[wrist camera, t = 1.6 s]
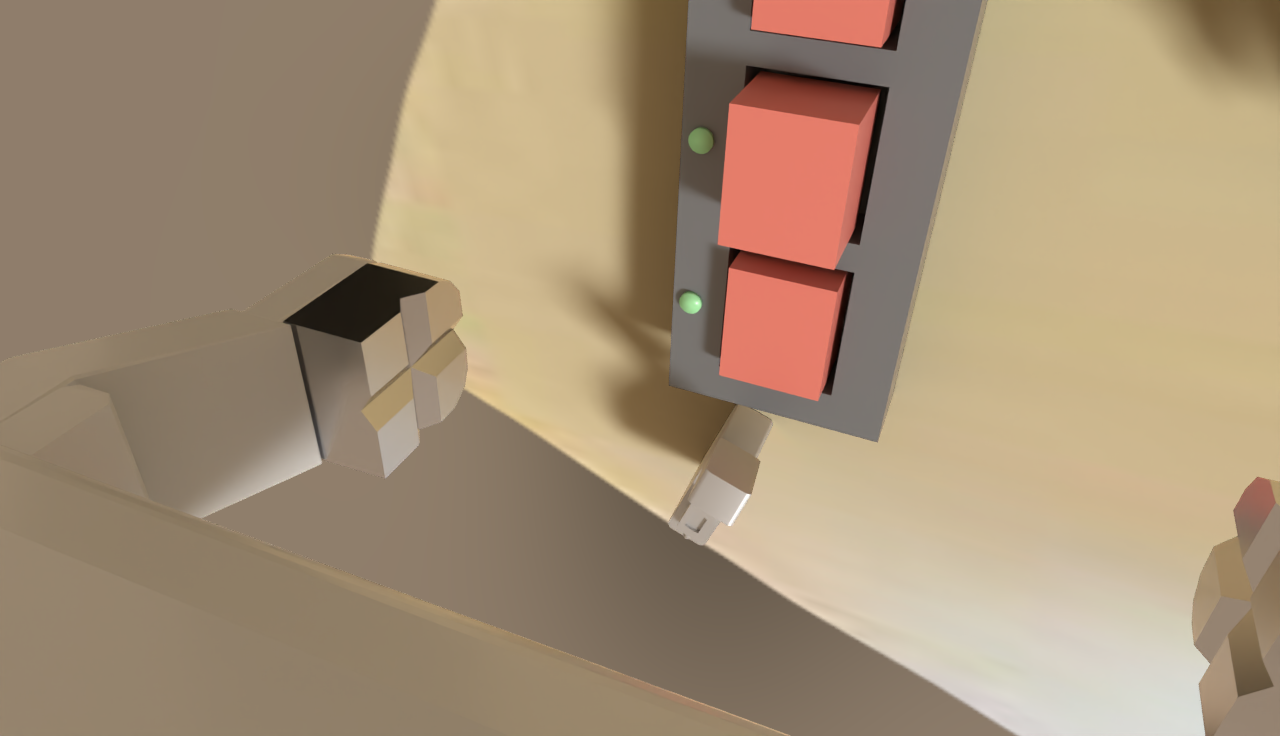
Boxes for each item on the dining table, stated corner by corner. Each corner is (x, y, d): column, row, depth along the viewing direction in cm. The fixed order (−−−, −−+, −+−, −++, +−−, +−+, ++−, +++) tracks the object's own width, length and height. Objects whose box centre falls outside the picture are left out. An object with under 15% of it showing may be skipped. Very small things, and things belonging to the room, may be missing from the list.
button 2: (760, 70, 27) (729, 103, 25) (880, 89, 26) (859, 125, 24) (747, 204, 30) (717, 244, 27) (855, 226, 29) (834, 270, 26)
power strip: (751, -444, 22) (709, -463, 20) (1096, -453, 20) (1094, -475, 18) (695, 344, 37) (666, 388, 34) (892, 395, 34) (876, 445, 32)
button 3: (755, 228, 32) (728, 267, 29) (857, 250, 31) (837, 292, 28) (744, 332, 34) (719, 375, 32) (837, 354, 33) (817, 401, 31)
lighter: (735, 480, 40) (669, 614, 34) (701, 461, 40) (630, 591, 34) (806, 373, 35) (745, 507, 29) (768, 351, 36) (699, 480, 30)
